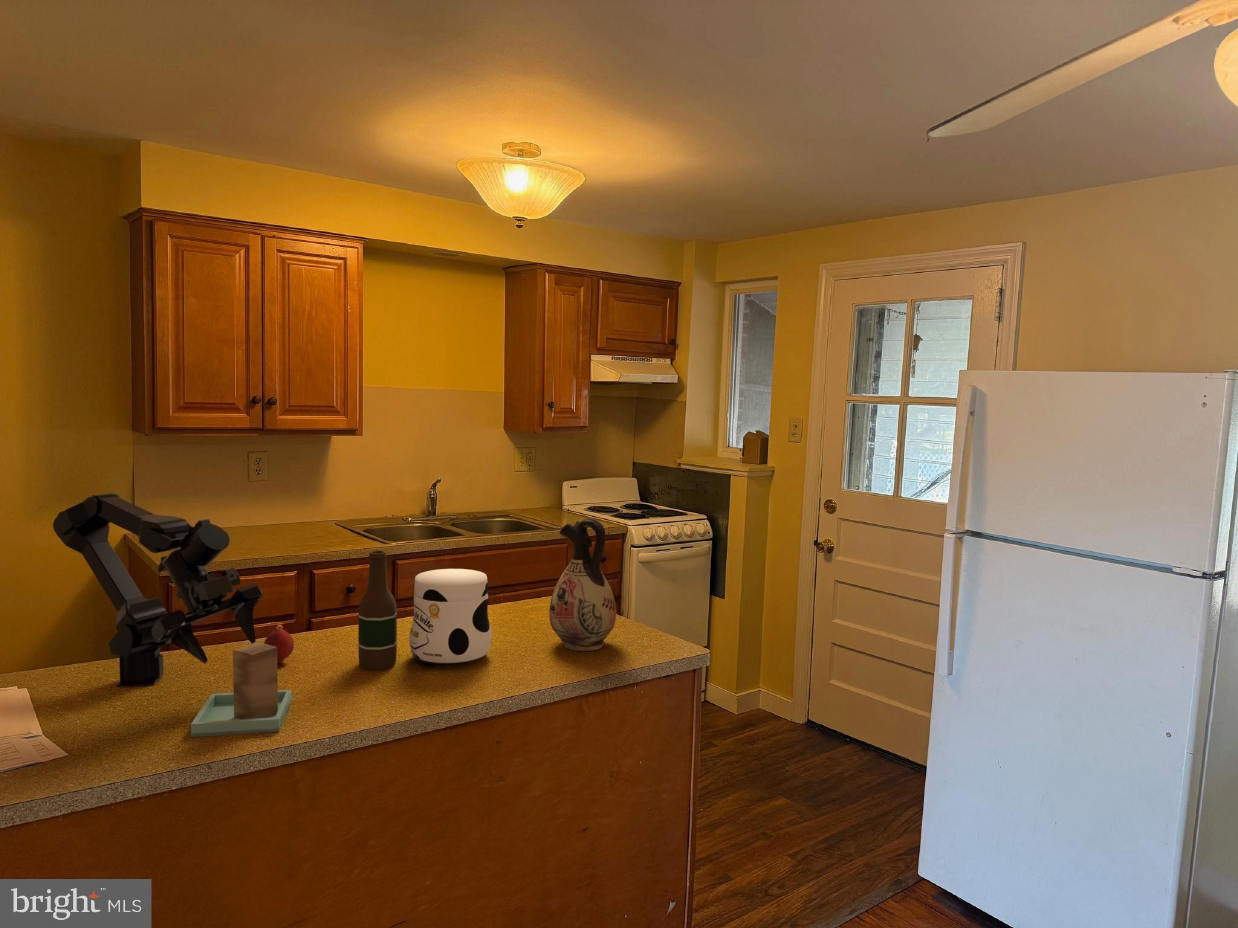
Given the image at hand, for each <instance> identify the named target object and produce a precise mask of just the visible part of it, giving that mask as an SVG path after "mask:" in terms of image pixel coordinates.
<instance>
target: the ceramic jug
mask: <svg viewBox="0 0 1238 928" xmlns="http://www.w3.org/2000/svg"><path fill="white" fill-rule="evenodd" d="M589 528H590V529H592V530H593V531H594V533H595V534H594V535H595V543H594V547H593V553H592V555H591V551H590V548H592V546H593V541H592V539H591V536H590V535H589V532H588V529H589ZM558 533H559V535H560V536H562V537H563V538H565V539H568V541H570V542H572V543H573V545H574V554H573V557H571V560H570V561H569V563H568V564H567V566H566V567H565V569H564V571H563V572H562V574H561V576H560V577H559V579H558V581H557V583H556V585H555V587H554V588H553V592H552V595H551V598H550V603H549V604H550V605H549V610H548V613H549V614H548V619H549V623H550V627H551V629H552V630H553V631H554V633H555V634H556V635H557V637H558V638H559V639H560V641H561V642H562V644H563V647H564V648H565V649H568V650H570V651H579V652H587V651H588V652H589V651H598V650H600V649H601V648H603V646H604V645H605V642H604V641H605V640H606V638H607V637H608V636H609V634H611V632H612V631H613V629H614V627H615V625H616V621H617V619H616V618H617V604H616V599H615V597H614V594H613V590H612V588H611V586H610V584H609V582H608V580H607V579H606V577H605V575H604V573H603V572H602V570H601V568H600V566H601V561H602V557H603V552H604V548H605V545H606V530H605V528H604V526H603V524H602V523H601V522H600V521H598V519H596V518H585V519H583V520H581V521H578V520H577V521H576V522H575V524H574V525H571V524H570V523H567V524H565V525H563V526H562V528H561V529H560V531H559V532H558Z"/></svg>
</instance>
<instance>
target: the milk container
mask: <svg viewBox="0 0 1238 928" xmlns="http://www.w3.org/2000/svg"><path fill="white" fill-rule="evenodd" d="M413 585H414V586H413V587H414V588H413V589H414V591H413V592H414V595H413V620H412V623H411V627H410V631H409V640H408V641H409V648H410V652H411V654H412V656H413V658H415V659H416V660H418V661H419V662H421V663H425V664H427V665H430V666H431V665H433V666H439V667H440V666H442V667H444V666H445V667H446V666H449V667H450V666H451V667H453V666H454V667H455V666H463V665H468V664H471V663H475V662H478V661H480V660H481V659H483V658H484V657H486V656H487V655H488V653H489V651H490V649H491V647H492V638H493V637H492V636H493V634H492V627H491V624H490V619H489V614H488V610H489V609H488V608H489V607H488V606H489V594H488V593H489V582H488V577H487V574H486V573H484V572H482V571H480V570H475V569H465V568H442V569H431V570H427V571H424V572H420V573H418V574H417V575H415V578H414V584H413Z"/></svg>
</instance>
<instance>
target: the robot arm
mask: <svg viewBox="0 0 1238 928" xmlns="http://www.w3.org/2000/svg"><path fill="white" fill-rule="evenodd" d="M110 524H113V525H115V526H117V527H119V528H122V529H123V530H125V531H127V532H129V533H132V534H134V536H136V537H137V538H138V543H139V544H140V545H141V546H143V547H144V548H145V549H146V550H148V551H150V553H152V554H159V553H164V552H165V553H166V552H169V551H171V552H170V553H169V555H166V556H161V557H160V561H159V564H158V566H157V573H162V572H167V573H168V575H169V577H170V579H171V580H172V582H173V585H174V586H175V589H176V590H177V592H176V597H177V599H178V600H181V601H183V604H184V606H185V608H186V609H187V612H186V613H184V611H182V610H181V609H178V610H175V611H172V612H169V611H168V610H166V608H165V607H164V605H163V603H162V600H161V599H159V598H158V597H154V598H149V599H148V598H146V597H145V596H144V595H143V594H142V592H141V590H140V589H139V588H138V586H137V585H136V583H135V582H134V579H133V578H132V577H131V575H130V574H129V572H128V570H127V568H126V567H125V566H124V564H123V562H122V561H121V559H120V557H119V555H118V554H117V553H116V551H115V550H114V548H113V546H112V545H111V543H110V542H109V534H110ZM52 528H53V531H54V533H55V534H56V536H57V537H58V538H59V540H60V541H61V542H62V543H63V544H64V546H65V547H68V548H70V549H71V550H73V551H75V552H78V553H79V554H81V555H82V556H83V558H84V561H85V562H86V564H87V565H88V567H89V568H90V570H91V571H92V573H93V575H94V576H95V578H96V579H97V581H98V583H99V584H100V586H101V587H102V589H103V591H104V592H105V594H106V596H107V597H108V599H109V600H110V602H111V604H112V605H113V607H114V608H115V610H116V612H117V613H116V621H115V628H116V631H117V632H116V634H114V636H113V637H112V638H111V639H110V641H109V643H108V647H109V651H110V654H111V655H115V656H118V658H119V663H118V664H119V681H118V682H117V683H116V687H118V688H121V687H139V686H140V687H143V686H153V685H155V684H157V682H158V681H159V680H160V679H161V677H162V676H163V675H164V655H163V654H162V653H161V647H166V646H168V644H173V645H174V646H177V647H178V648H180V649H182V650H184V651H185V652H187V653H188V654H190V655H191V656H192V657H194V658H195V659H197V660H198V661H200V662H201V663H203V664H206V663H207V662H208V657H207V655H206V653H205V651H204V649H203V647H202V646H201V644H200V643H199V641H198V639H197V638H196V636H195V634H194V632H193V630H194V629H193V627H192V624H193V623H196V622H200V621H201V620H203V619H206V618H210V617H212V616H215V615H218V614H221V613H223V612H226V611H228V610H231V611H232V612H234V613H235V615H234V616H233V617H234V619H235V621H236V623H237V624H238V626H239V628H240V629H241V630H242V632H243V634H244V636H245V637H246V638H247V640H248V641H249V642H250V644H253V643H256V641H257V640H256V632H255V624H254V623H255V622H254V609H255V607H256V605H257V604H258V603H259V602H260V600H261V598H263V596H264V592H263V590H262V589H261V586H258V585H257V584H254V583H253V584H249V585H247V586H244V587H240V588H239V589H236V590H235V588H234V586H237V585H240V584H241V578H240V574H239V573H238V571H237V569H235V567H232V568H229V569H225V570H223V571H221V576H219V577H217V578H216V576H215V575H214V574H213V573H212V572H210V573H208V571H207V569H206V566H208V565H210V564H212V562H214V560H215V559H217V557H218V556H219V555H220V554H221V553H223V551H225V550H226V549H227V548H228V546H229V545H230V541H231V540H230V536H229V534H228V532H227V531H225V530H224V529H223V528H222V527H220V526H219V525H216V524H215V523H214V524H213V523H211V520H210V519H209V518H207V519H199V520H198V521H196V523H195V524H194V526H193V525H190V523H189V522H188V521H187V520H186V519H185V518H183V517H179V516H178V517H177V516H173V515H162V514H156V513H155V514H154V513H152V512H150V511H148V510H146V509H144V508H142V507H140V506H138V505H135V504H134V503H131V502H129V501H127V500H124V499H123V498H121V497H120V496H119V495H118V494H116V493H113V492H111V493H110V492H108V493H100V494H92V495H90V496H88V497H86V498H85V499H84V500H83V501H81V502H79V503H77V504H75V505H73V506H71V507H68V508H66V509H65V510H62V511H60V512H59V513H58V514H57V516H56V517H55V518H54V519H53V523H52ZM233 592H234V594H232V596H231V597H229V598H227V599H224V598H226V597H227V596H228V594H230V593H233ZM223 599H224V600H223Z"/></svg>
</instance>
